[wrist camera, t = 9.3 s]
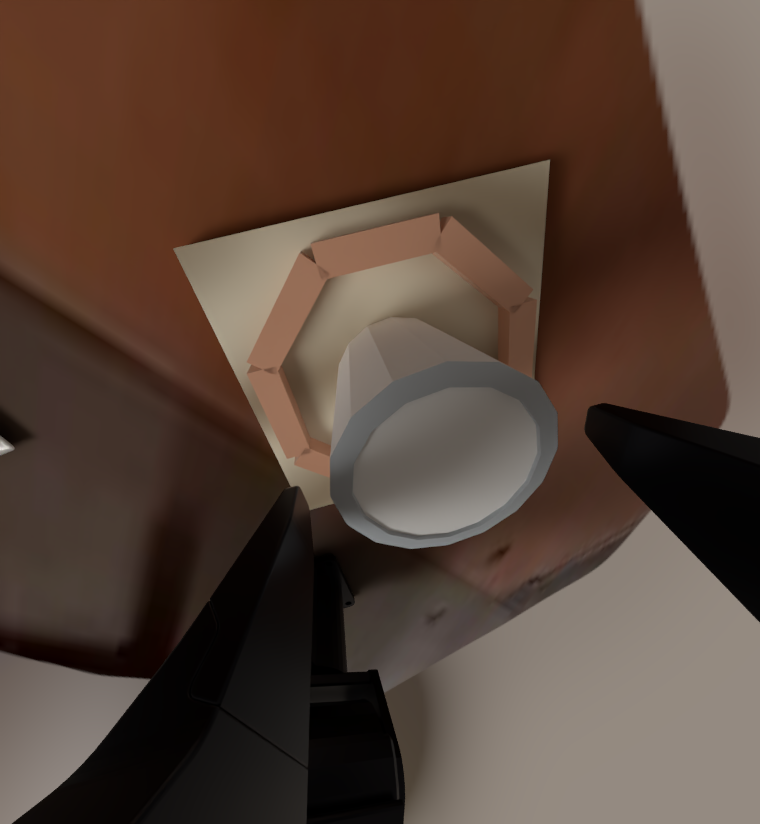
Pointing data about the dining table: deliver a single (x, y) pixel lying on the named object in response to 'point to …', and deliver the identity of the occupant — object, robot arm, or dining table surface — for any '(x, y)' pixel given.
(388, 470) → the shot glass
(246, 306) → the serving board
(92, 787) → the robot arm
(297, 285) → the coaster ring
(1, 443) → the dessert
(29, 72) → the dining table surface
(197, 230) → the dining table surface
